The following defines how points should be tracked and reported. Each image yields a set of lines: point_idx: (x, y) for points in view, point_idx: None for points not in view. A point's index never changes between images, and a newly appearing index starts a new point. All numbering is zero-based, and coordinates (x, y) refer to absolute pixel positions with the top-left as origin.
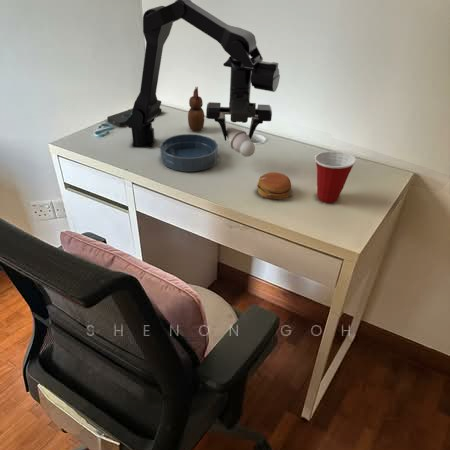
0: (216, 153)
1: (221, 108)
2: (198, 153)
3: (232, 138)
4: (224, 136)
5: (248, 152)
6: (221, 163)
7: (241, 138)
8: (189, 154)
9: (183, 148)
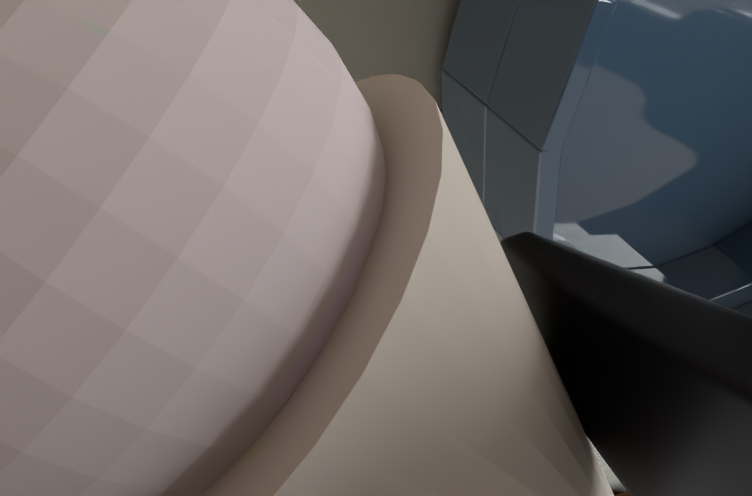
0: (523, 77)
1: None
2: (637, 181)
3: (443, 156)
4: (604, 270)
5: None
6: (377, 54)
7: (88, 174)
8: (721, 128)
9: (748, 222)
